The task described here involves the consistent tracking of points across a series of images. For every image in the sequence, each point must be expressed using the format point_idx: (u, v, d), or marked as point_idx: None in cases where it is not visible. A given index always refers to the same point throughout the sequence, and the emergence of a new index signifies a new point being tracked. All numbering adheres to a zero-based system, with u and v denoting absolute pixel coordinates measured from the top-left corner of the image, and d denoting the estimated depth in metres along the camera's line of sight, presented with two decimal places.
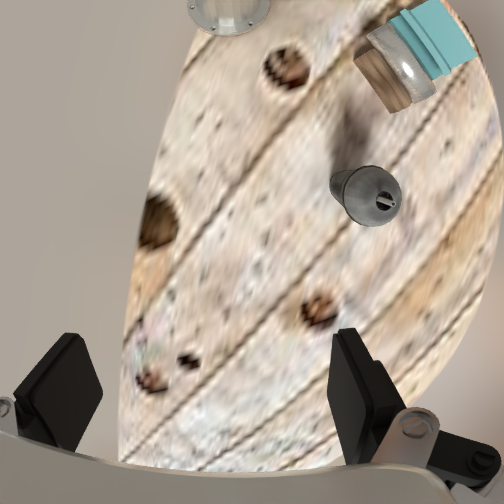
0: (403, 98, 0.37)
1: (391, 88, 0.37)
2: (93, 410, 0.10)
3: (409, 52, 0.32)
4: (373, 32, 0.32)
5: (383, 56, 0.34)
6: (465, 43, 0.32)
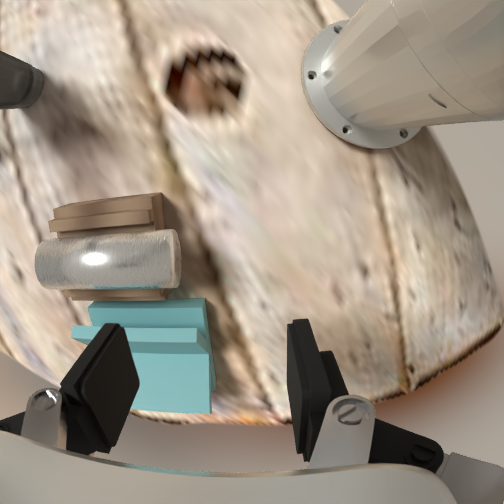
0: (60, 226, 0.23)
1: (81, 216, 0.23)
2: (132, 400, 0.10)
3: (105, 282, 0.21)
4: (164, 240, 0.21)
5: (124, 233, 0.23)
6: None
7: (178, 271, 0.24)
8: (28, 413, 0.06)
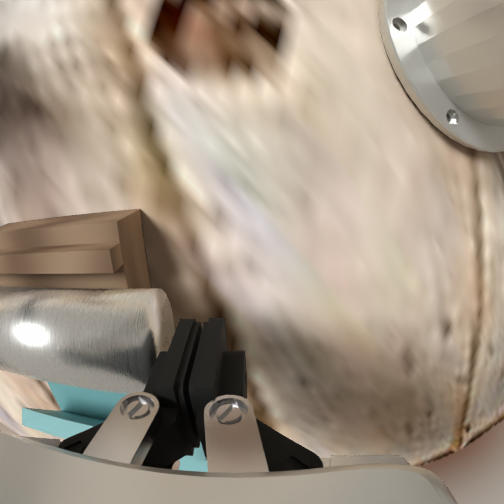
0: None
1: (10, 252, 0.12)
2: None
3: (44, 377, 0.10)
4: (135, 321, 0.10)
5: (68, 291, 0.11)
6: None
7: None
8: (112, 416, 0.06)
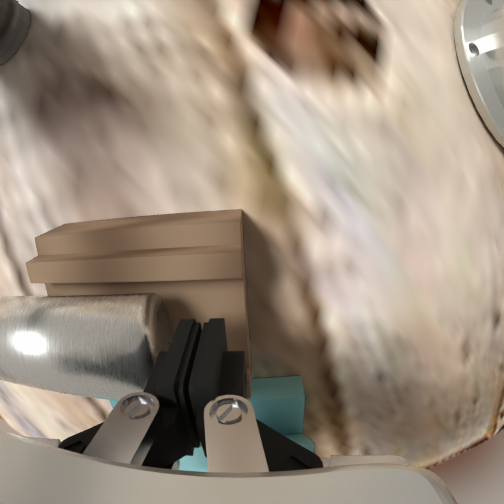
0: (49, 274, 0.12)
1: (88, 256, 0.12)
2: None
3: (41, 385, 0.10)
4: (129, 325, 0.10)
5: (63, 299, 0.11)
6: None
7: None
8: (112, 416, 0.06)
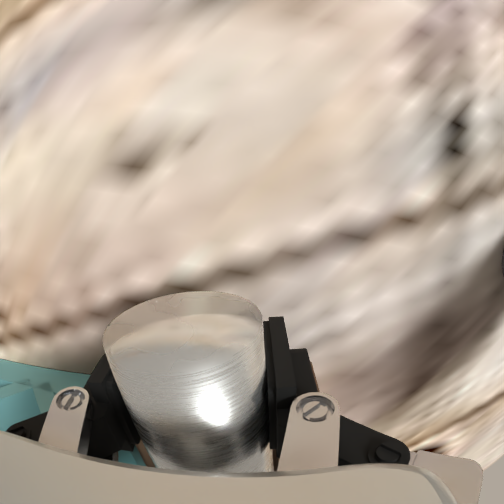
0: None
1: None
2: None
3: None
4: None
5: None
6: None
7: None
8: (52, 411, 0.06)
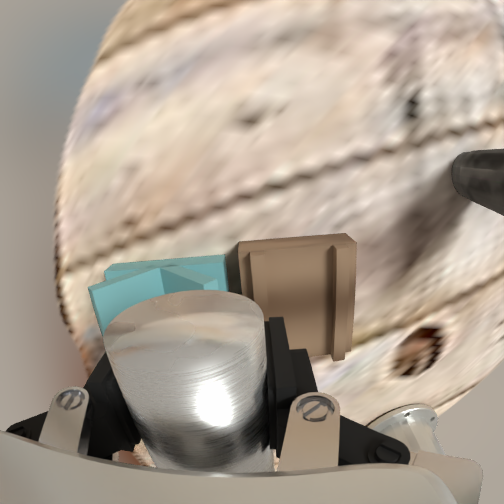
0: (342, 266, 0.22)
1: None
2: None
3: None
4: None
5: None
6: (110, 320, 0.22)
7: None
8: (52, 411, 0.06)
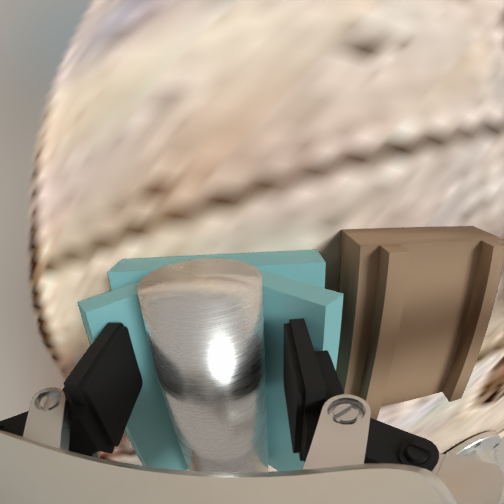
0: (494, 272, 0.12)
1: None
2: (135, 399, 0.10)
3: (198, 446, 0.11)
4: None
5: None
6: None
7: None
8: (31, 413, 0.06)
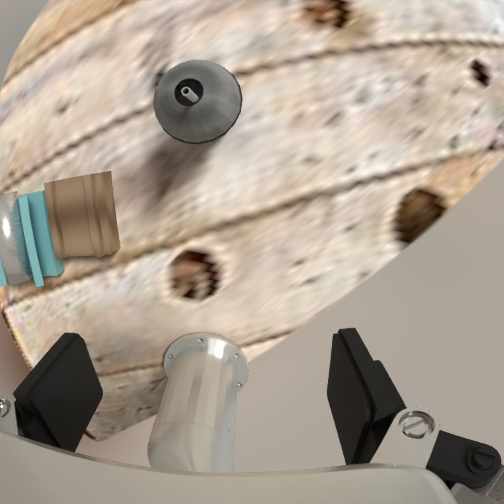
0: (87, 186, 0.32)
1: (95, 203, 0.33)
2: (93, 410, 0.10)
3: None
4: (23, 280, 0.33)
5: (24, 251, 0.34)
6: None
7: None
8: None
